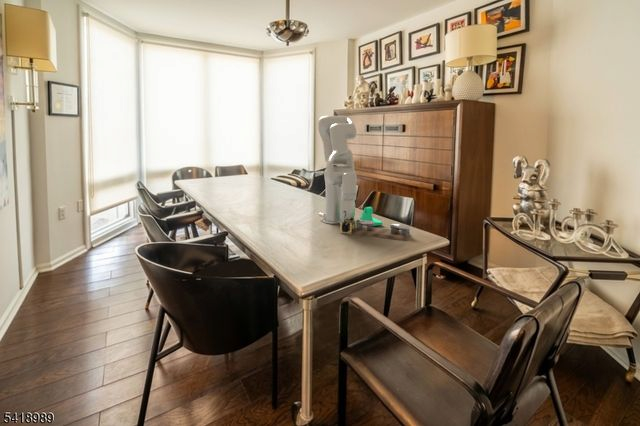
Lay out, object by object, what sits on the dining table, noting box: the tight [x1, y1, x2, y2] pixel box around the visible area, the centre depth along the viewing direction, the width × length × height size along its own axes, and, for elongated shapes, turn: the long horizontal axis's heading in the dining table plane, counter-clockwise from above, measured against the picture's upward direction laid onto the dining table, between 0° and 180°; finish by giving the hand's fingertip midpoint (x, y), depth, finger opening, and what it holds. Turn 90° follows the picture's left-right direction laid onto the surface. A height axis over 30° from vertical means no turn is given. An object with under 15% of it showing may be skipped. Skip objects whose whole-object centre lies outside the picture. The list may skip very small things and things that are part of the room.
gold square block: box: [339, 219, 356, 235], centre depth 185 cm, size 7×6×6 cm
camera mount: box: [359, 206, 383, 227], centre depth 200 cm, size 12×8×10 cm, turn 23°
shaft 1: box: [355, 219, 375, 231], centre depth 185 cm, size 9×4×5 cm, turn 76°
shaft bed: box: [353, 226, 411, 241], centre depth 182 cm, size 26×11×2 cm, turn 66°
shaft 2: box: [389, 222, 411, 236], centre depth 178 cm, size 9×4×5 cm, turn 56°
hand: (347, 229), depth 185 cm, fingers open, 8 cm apart
